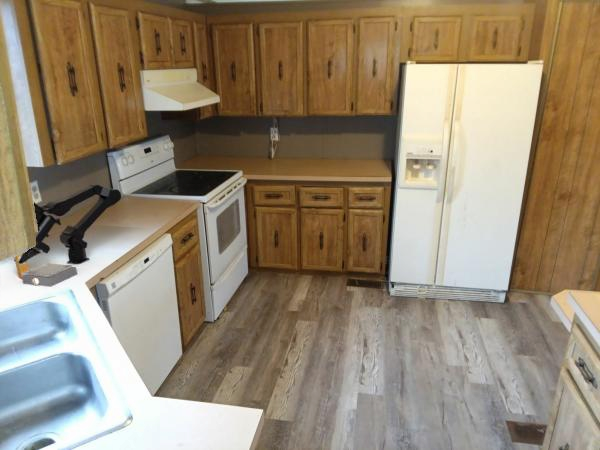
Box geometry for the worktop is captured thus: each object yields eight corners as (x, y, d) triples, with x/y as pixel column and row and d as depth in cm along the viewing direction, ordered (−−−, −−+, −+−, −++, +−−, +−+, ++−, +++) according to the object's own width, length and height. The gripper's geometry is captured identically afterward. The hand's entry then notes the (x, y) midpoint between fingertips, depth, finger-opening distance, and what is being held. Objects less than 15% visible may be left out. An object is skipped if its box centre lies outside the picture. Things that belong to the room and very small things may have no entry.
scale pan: (49, 265, 179) (49, 263, 178) (71, 267, 176) (71, 265, 175) (26, 274, 168) (25, 272, 168) (49, 277, 165) (49, 275, 165)
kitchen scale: (50, 271, 181) (49, 264, 180) (77, 274, 177) (76, 267, 176) (21, 284, 168) (20, 276, 167) (49, 287, 164) (48, 279, 163)
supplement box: (17, 277, 175) (12, 253, 172) (26, 275, 177) (22, 251, 175) (21, 279, 173) (16, 254, 170) (30, 276, 176) (26, 252, 173)
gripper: (12, 215, 178) (-13, 248, 172) (36, 220, 167) (10, 256, 161) (36, 229, 186) (13, 262, 180) (60, 235, 176) (36, 270, 170)
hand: (17, 262), depth 172 cm, fingers closed on supplement box, 3 cm apart
